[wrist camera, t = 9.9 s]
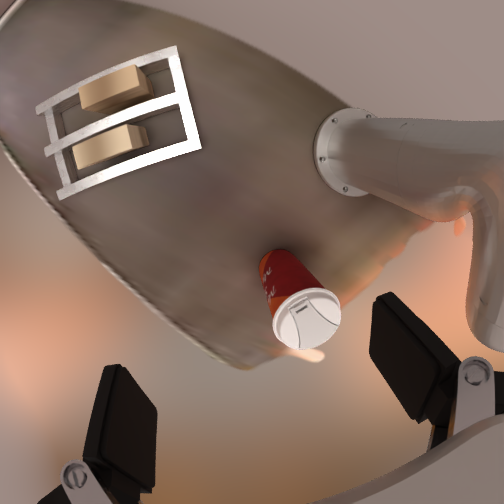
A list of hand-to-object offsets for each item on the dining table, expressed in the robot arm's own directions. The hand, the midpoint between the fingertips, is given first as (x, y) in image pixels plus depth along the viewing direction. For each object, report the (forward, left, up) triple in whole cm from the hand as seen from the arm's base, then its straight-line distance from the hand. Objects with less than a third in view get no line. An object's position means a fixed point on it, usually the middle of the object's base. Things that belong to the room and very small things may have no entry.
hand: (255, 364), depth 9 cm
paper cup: (-6, +12, -28) cm, 31 cm away
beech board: (+9, -10, -28) cm, 31 cm away
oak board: (+7, -15, -28) cm, 33 cm away
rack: (+9, -13, -28) cm, 32 cm away
